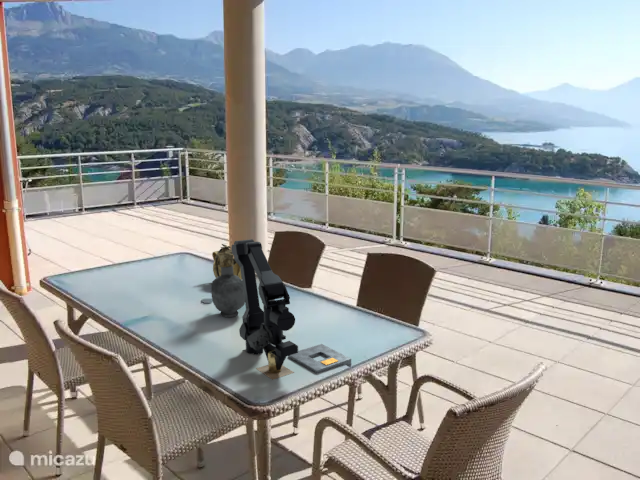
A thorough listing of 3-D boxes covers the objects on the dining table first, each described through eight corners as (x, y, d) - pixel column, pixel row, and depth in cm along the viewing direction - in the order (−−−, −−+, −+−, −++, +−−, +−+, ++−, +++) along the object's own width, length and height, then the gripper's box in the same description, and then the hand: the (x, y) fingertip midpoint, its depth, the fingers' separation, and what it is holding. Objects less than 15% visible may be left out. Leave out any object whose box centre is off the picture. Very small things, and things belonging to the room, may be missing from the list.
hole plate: (288, 359, 182) (288, 353, 181) (321, 349, 190) (321, 343, 190) (316, 376, 169) (316, 369, 169) (351, 364, 177) (351, 358, 177)
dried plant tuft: (203, 282, 275) (201, 253, 272) (229, 275, 288) (227, 247, 285) (232, 290, 261) (231, 260, 258) (258, 282, 274) (257, 253, 271)
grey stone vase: (225, 322, 218) (221, 249, 212) (206, 309, 233) (202, 241, 227) (249, 316, 224) (246, 245, 218) (229, 305, 239) (226, 238, 233)
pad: (255, 371, 173) (255, 368, 173) (277, 364, 178) (277, 361, 178) (272, 382, 166) (272, 379, 165) (294, 375, 170) (294, 372, 170)
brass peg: (266, 370, 172) (265, 352, 171) (276, 366, 174) (276, 349, 173) (272, 374, 169) (272, 356, 168) (283, 370, 171) (283, 353, 170)
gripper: (235, 318, 171) (237, 364, 174) (266, 335, 156) (268, 385, 159) (266, 310, 177) (267, 355, 181) (298, 326, 163) (299, 375, 166)
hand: (274, 367), depth 171 cm, fingers closed on brass peg, 4 cm apart
